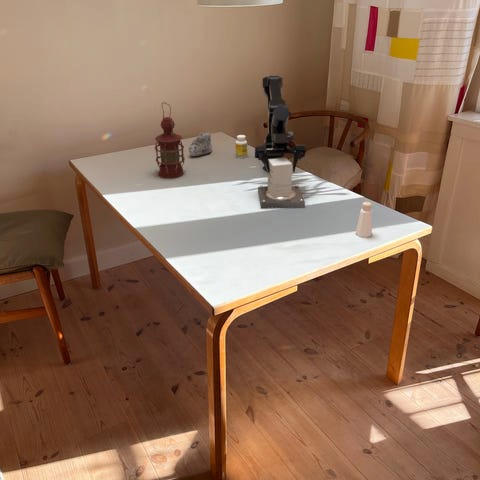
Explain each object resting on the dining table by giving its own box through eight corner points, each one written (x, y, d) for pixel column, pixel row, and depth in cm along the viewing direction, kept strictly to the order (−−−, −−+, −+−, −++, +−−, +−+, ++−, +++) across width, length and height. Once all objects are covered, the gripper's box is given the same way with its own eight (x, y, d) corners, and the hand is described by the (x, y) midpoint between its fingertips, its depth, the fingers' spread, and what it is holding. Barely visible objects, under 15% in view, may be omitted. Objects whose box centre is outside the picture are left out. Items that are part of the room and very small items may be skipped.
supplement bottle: (240, 153, 244) (239, 133, 240) (249, 155, 241) (249, 135, 237) (233, 156, 240) (233, 136, 236) (242, 159, 238) (242, 138, 233)
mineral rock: (190, 159, 238) (189, 137, 234) (183, 152, 247) (182, 131, 242) (217, 155, 243) (216, 134, 238) (209, 148, 251) (208, 128, 247)
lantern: (190, 175, 220) (186, 103, 206) (165, 181, 214) (159, 108, 200) (177, 167, 229) (172, 97, 215) (151, 172, 223) (145, 102, 209)
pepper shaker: (360, 228, 174) (363, 198, 169) (375, 233, 171) (378, 202, 166) (352, 234, 171) (355, 203, 165) (367, 239, 168) (371, 208, 162)
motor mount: (257, 191, 204) (257, 185, 202) (298, 190, 204) (299, 184, 203) (260, 208, 189) (260, 201, 188) (304, 207, 190) (305, 200, 189)
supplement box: (285, 188, 200) (286, 157, 194) (291, 196, 193) (292, 163, 187) (267, 190, 198) (267, 158, 192) (272, 198, 192) (272, 165, 186)
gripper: (255, 123, 188) (256, 163, 183) (306, 122, 188) (309, 162, 184) (253, 138, 199) (255, 176, 194) (302, 137, 199) (305, 175, 195)
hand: (281, 172), depth 191 cm, fingers open, 9 cm apart
